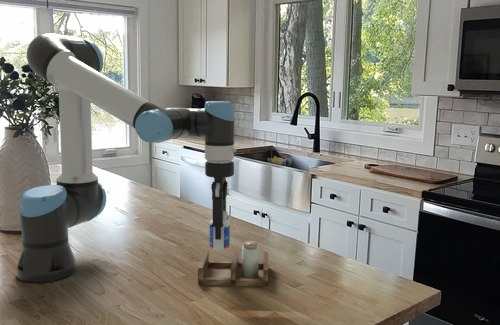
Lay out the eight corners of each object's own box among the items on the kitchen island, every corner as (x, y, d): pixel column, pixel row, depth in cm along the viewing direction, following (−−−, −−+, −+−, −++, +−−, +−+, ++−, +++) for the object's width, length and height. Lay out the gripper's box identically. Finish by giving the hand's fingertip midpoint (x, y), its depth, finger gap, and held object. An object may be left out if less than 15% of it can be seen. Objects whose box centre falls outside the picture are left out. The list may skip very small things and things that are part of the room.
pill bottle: (211, 251, 126) (211, 215, 125) (207, 245, 131) (207, 210, 130) (231, 250, 128) (232, 214, 126) (227, 243, 133) (227, 209, 131)
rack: (197, 288, 125) (197, 268, 124) (204, 269, 138) (204, 250, 137) (267, 290, 124) (268, 269, 123) (267, 271, 137) (268, 252, 136)
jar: (241, 278, 128) (241, 245, 127) (241, 272, 133) (242, 240, 131) (258, 279, 128) (259, 246, 127) (258, 272, 133) (259, 240, 131)
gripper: (231, 166, 117) (231, 258, 120) (236, 156, 135) (235, 236, 138) (200, 166, 117) (201, 258, 121) (209, 155, 135) (209, 235, 139)
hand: (219, 246), depth 130 cm, fingers closed on pill bottle, 5 cm apart
